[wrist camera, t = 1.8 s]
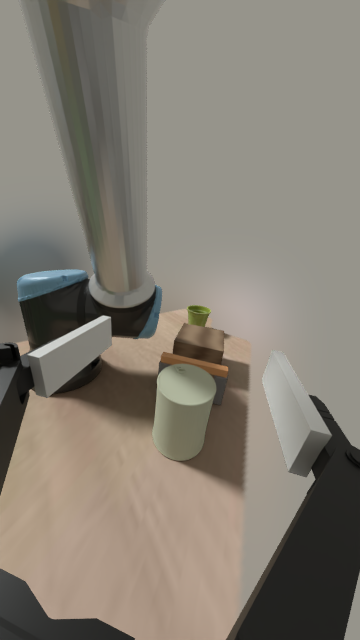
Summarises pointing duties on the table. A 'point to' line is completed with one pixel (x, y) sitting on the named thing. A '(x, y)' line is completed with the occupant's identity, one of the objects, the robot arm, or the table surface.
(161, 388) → the can
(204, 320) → the plant pot
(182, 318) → the table surface
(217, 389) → the hurdle posts
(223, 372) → the terracotta bar
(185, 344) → the walnut stand
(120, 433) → the table surface
